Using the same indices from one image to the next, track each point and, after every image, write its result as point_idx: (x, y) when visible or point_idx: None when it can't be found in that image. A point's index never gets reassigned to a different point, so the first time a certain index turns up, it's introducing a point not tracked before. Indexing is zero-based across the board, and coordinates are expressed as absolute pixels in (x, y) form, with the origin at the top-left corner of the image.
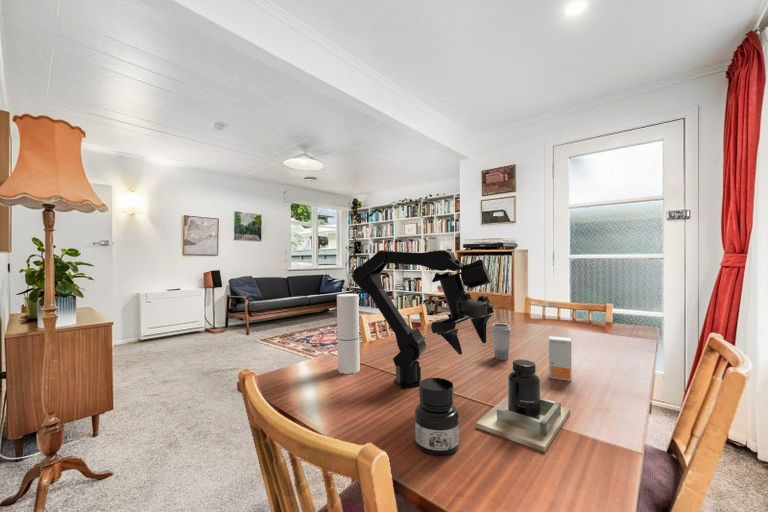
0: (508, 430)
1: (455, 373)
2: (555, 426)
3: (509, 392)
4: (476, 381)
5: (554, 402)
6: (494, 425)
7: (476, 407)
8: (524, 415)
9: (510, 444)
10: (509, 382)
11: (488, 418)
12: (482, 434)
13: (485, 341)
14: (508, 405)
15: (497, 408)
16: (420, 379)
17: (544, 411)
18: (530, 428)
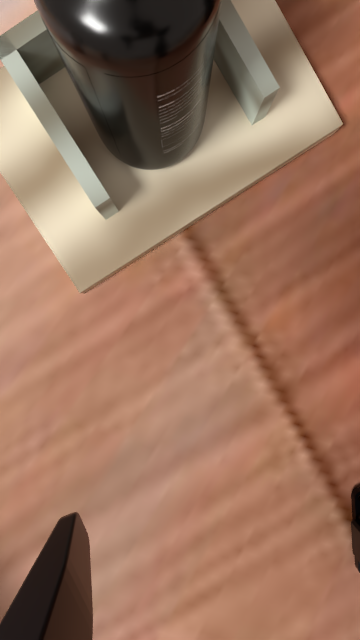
0: (271, 42)
1: (165, 559)
2: None
3: (212, 62)
4: (127, 459)
5: (11, 57)
6: (294, 88)
7: (254, 257)
8: None
9: (292, 10)
10: (219, 11)
11: (285, 137)
12: (339, 89)
13: (65, 524)
14: (202, 120)
15: (273, 91)
16: (356, 521)
17: (60, 114)
18: None
